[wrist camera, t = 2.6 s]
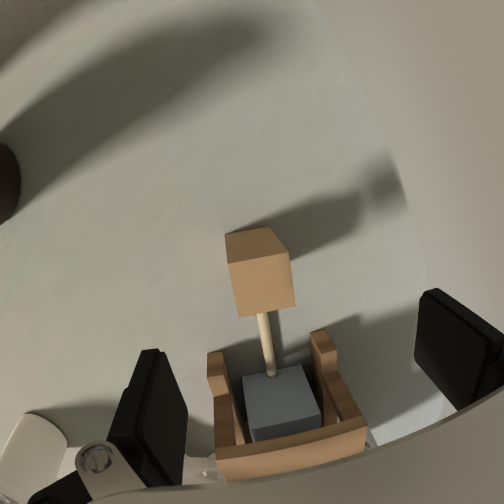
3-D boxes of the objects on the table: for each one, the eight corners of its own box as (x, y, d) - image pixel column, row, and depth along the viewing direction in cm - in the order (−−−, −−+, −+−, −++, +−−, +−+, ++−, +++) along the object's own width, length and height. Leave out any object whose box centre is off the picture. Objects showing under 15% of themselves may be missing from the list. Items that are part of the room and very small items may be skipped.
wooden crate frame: (207, 353, 23) (207, 442, 15) (324, 329, 24) (370, 405, 15) (232, 431, 26) (241, 508, 18) (327, 411, 27) (357, 481, 18)
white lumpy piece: (193, 538, 20) (96, 485, 18) (198, 482, 28) (119, 425, 26) (242, 526, 20) (139, 470, 17) (239, 465, 28) (159, 403, 25)
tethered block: (209, 237, 21) (207, 267, 15) (283, 223, 21) (308, 248, 15) (251, 414, 26) (260, 464, 20) (304, 403, 26) (321, 451, 20)
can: (40, 407, 24) (1, 490, 12) (79, 445, 26) (53, 527, 14) (12, 414, 24) (-25, 485, 12) (47, 449, 26) (21, 520, 14)
